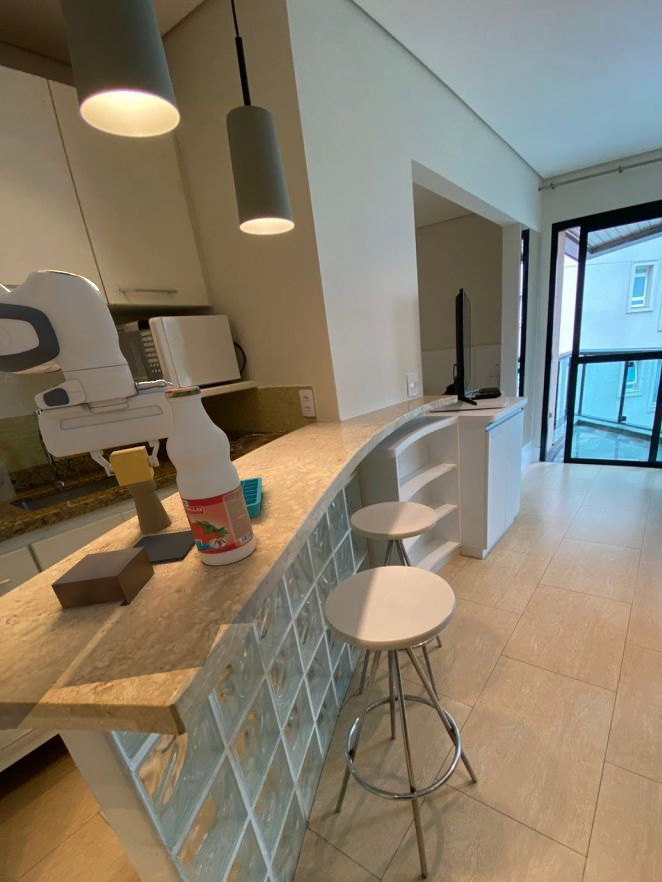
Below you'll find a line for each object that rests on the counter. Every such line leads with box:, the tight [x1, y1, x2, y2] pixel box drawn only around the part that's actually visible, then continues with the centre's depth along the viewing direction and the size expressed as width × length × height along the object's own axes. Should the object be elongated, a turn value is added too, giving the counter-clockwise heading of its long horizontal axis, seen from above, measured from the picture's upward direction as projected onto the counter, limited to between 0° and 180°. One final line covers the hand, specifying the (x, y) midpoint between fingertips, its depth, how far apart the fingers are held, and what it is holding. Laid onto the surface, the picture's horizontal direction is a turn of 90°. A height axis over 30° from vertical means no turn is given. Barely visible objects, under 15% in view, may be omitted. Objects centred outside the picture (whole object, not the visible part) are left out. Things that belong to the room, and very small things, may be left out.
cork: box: [126, 478, 172, 534], centre depth 85 cm, size 6×6×11 cm
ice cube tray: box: [240, 476, 263, 519], centre depth 93 cm, size 12×20×3 cm, turn 14°
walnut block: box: [50, 547, 155, 610], centre depth 62 cm, size 9×9×5 cm
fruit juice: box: [165, 385, 257, 566], centre depth 66 cm, size 9×9×28 cm
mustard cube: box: [108, 445, 155, 487], centre depth 70 cm, size 5×5×5 cm
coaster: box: [131, 529, 196, 565], centre depth 76 cm, size 12×12×1 cm
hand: (134, 470), depth 70 cm, fingers closed on mustard cube, 5 cm apart
